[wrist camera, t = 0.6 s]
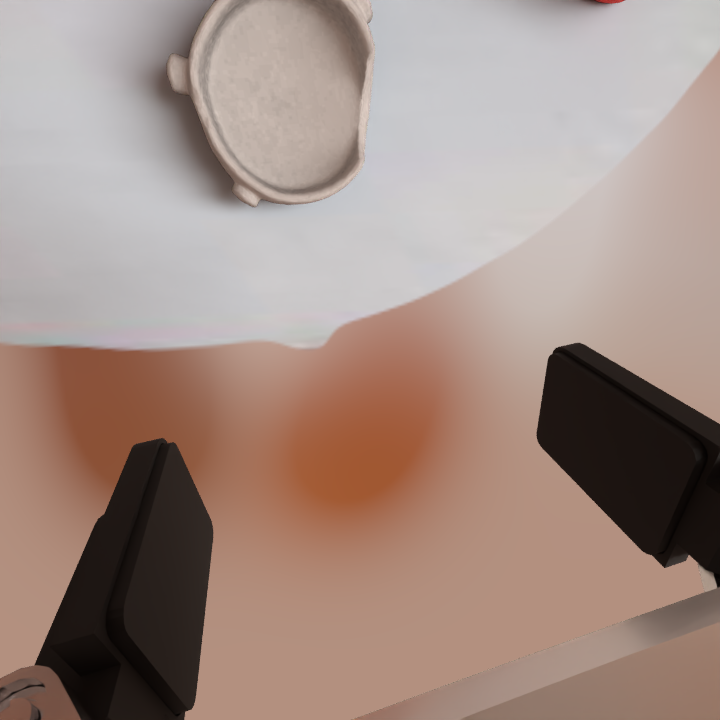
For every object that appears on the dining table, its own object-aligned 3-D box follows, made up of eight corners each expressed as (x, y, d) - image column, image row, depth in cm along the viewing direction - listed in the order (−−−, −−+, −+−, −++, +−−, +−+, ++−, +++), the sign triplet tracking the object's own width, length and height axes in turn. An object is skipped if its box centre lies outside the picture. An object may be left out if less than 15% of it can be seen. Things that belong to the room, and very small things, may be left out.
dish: (351, -28, 28) (368, -61, 24) (383, 178, 35) (401, 182, 31) (149, 11, 26) (129, -16, 22) (225, 218, 33) (221, 228, 29)
